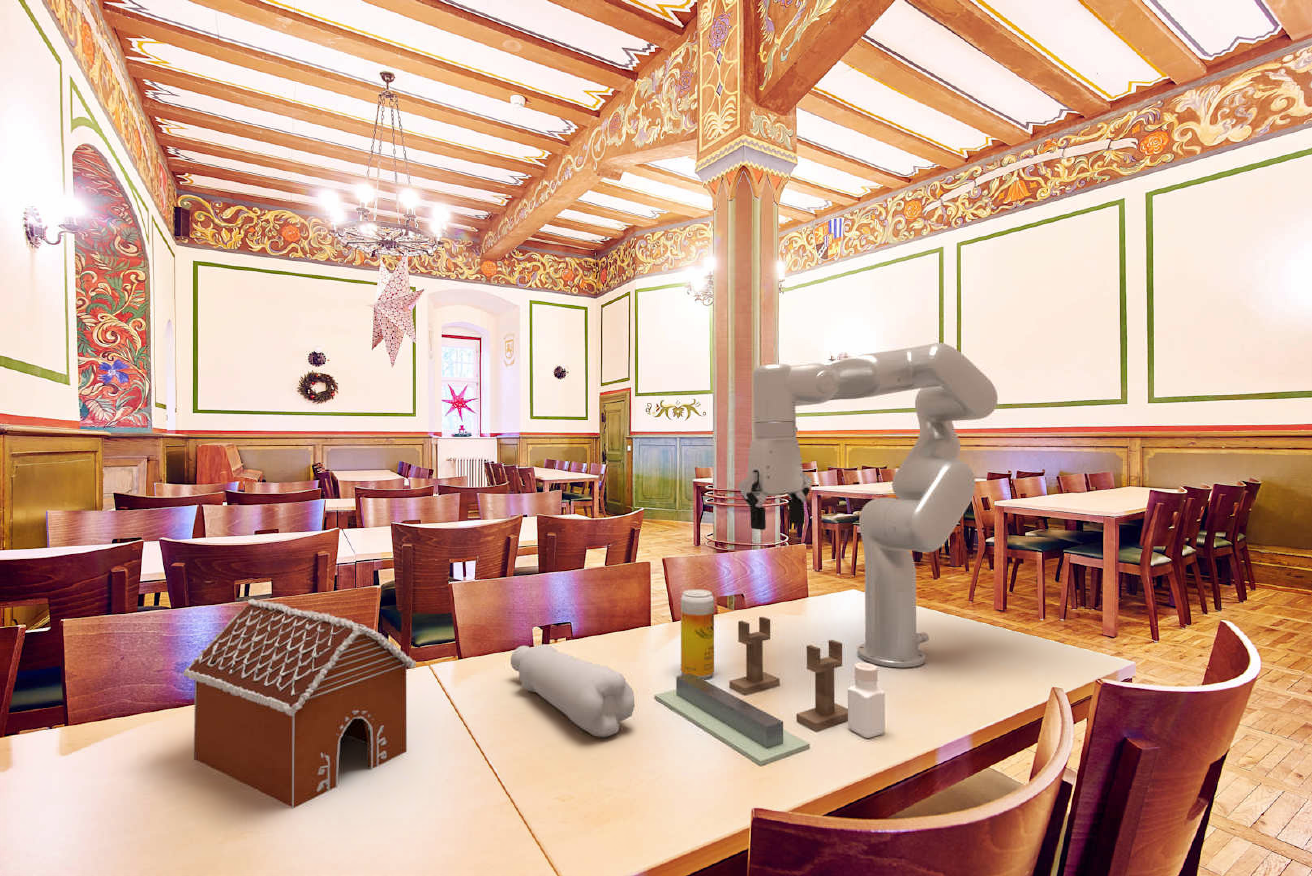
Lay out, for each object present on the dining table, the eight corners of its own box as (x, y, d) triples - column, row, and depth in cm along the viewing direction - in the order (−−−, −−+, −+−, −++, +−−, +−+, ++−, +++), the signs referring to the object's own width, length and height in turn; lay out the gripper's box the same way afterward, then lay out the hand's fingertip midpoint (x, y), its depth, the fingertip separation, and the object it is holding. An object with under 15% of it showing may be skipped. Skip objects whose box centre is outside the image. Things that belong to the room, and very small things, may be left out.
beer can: (712, 682, 110) (711, 597, 110) (678, 679, 111) (678, 595, 112) (715, 670, 116) (715, 589, 116) (683, 668, 117) (683, 588, 118)
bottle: (649, 705, 92) (553, 658, 116) (620, 660, 89) (528, 622, 113) (607, 755, 87) (516, 695, 111) (575, 709, 85) (488, 658, 108)
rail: (676, 695, 103) (676, 676, 103) (691, 691, 104) (691, 673, 104) (767, 749, 84) (767, 726, 84) (783, 743, 86) (783, 721, 86)
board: (698, 687, 108) (698, 684, 108) (809, 748, 86) (809, 743, 86) (654, 698, 103) (654, 694, 103) (760, 765, 81) (760, 761, 81)
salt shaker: (866, 740, 88) (866, 673, 88) (846, 729, 91) (845, 664, 92) (886, 734, 90) (886, 668, 90) (865, 723, 93) (865, 660, 94)
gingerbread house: (287, 819, 69) (289, 639, 70) (174, 762, 82) (177, 610, 82) (422, 749, 85) (423, 604, 86) (311, 711, 98) (312, 584, 99)
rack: (764, 678, 112) (763, 614, 112) (853, 719, 95) (852, 643, 95) (729, 687, 107) (729, 621, 108) (816, 731, 91) (815, 652, 91)
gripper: (793, 432, 121) (796, 520, 121) (725, 434, 111) (728, 529, 111) (823, 431, 115) (826, 523, 115) (753, 432, 105) (757, 533, 105)
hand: (778, 526), depth 113 cm, fingers open, 9 cm apart
